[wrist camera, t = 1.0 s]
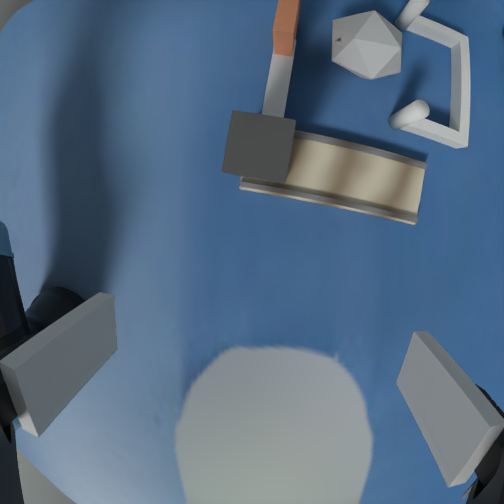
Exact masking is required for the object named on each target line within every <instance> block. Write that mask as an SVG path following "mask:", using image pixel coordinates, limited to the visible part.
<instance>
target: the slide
mask: <svg viewBox="0 0 504 504" xmlns="http://www.w3.org/2000/svg"><path fill="white" fill-rule="evenodd" d="M425 170H427V164H426V163H425V162H422V161H419V160H416V159H412V158H409V157H406V156H402V155H399V154H396V153H392V152H388V151H385V150H381V149H378V148H374V147H370V146H366V145H362V144H358V143H354V142H350V141H346V140H341V139H337V138H332V137H328V136H323V135H318V134H313V133H308V132H303V131H298V130H294V136H293V142H292V148H291V154H290V160H289V166H288V172H287V177H286V182H285V183H278V182H272V181H267V180H261V179H255V178H249V177H243V176H241V181H240V184H239V186H240V188H239V189H243V190H249V191H255V192H260V193H266V194H272V195H277V196H283V197H288V198H294V199H299V200H304V201H309V202H314V203H319V204H324V205H329V206H334V207H339V208H343V209H348V210H353V211H357V212H362V213H366V214H371V215H375V216H379V217H384V218H388V219H392V220H396V221H400V222H404V223H409V224H413V225H415V223H417V222H418V218H416V217H417V212H418V207H419V202H420V196H421V190H422V184H423V178H424V172H425Z"/></svg>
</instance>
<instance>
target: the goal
mask: <svg viewBox="0 0 504 504" xmlns="http://www.w3.org/2000/svg"><path fill="white" fill-rule="evenodd" d="M428 4H429V0H410V1H409V2H408V4H407V5H406V6H405V8H404V9H403V11H402V12H401V13H400V15H399V16H398V18H397V19H396V20H395V25H396V26H397V27H398V28H399V29H401V30H407V31H410V32H413V33H416V34H418V35H421V36H423V37H426V38H428V39H431V40H433V41H436V42H438V43H440V44H443V45H445V46H447V47H449V48H451V106H450V122H449V127H446V126H443V125H441V124H438V123H436V122H433V121H430V120H427V119H425V118H426V117H427V116H428V115H429V112H430V110H429V106H428V105H427V103H426V102H425V101H423V100H416V101H414V102H412V103H411V104H409V105H407V106H406V107H404V108H402V109H401V110H399V111H398V112H396V113H394V114H393V115H391V116H390V117H389V120H388V122H389V125H390V126H391V127H392V128H393V129H395V130H398V129H401V130H405V131H408V132H411V133H414V134H417V135H420V136H423V137H426V138H429V139H432V140H434V141H437V142H440V143H443V144H445V145H448V146H451V147H453V148H456V149H457V148H463V147H468V135H469V119H470V57H469V42H468V37H467V36H465V35H463V34H461V33H459V32H457V31H454V30H452V29H450V28H448V27H446V26H444V25H441V24H439V23H437V22H434V21H432V20H430V19H427V18H425V17H422V16H420V15H419V14H420V13H421V12H422V11H423V10H424V9H425V7H426V6H427V5H428Z"/></svg>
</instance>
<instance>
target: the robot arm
mask: <svg viewBox="0 0 504 504" xmlns="http://www.w3.org/2000/svg"><path fill="white" fill-rule="evenodd" d="M13 258H14V254H13V253H12V250H11V245H10V240H9V234H8V230H7V227H6V226H5V224H4V223H3V222H1V221H0V504H24V500H23V495H22V489H21V483H20V476H19V469H18V461H17V451H16V439H15V431H16V430H17V429H18V428H19V427H20V426H22V428H23V429H24V430H26V431H28V432H30V433H31V434H33V435H35V436H37V437H40V436H41V434H42V433H43V432H44V431H45V430H46V429H47V427H48V426H49V425H50V424H51V423H52V422H53V421H54V419H55V418H56V417H57V416H58V415H59V414H60V413H61V411H62V410H63V409H64V408H65V407H66V406H67V405H68V403H69V402H70V401H71V400H72V399H73V398H74V397H75V396H76V394H77V393H78V392H79V391H80V390H81V389H82V388H83V387H84V386H85V384H86V383H87V382H88V381H89V380H90V379H91V378H92V377H93V376H94V374H95V373H96V372H97V371H98V370H99V369H100V368H101V367H102V366H103V365H104V363H105V362H106V361H107V360H108V359H109V358H110V357H111V356H112V355H113V354H114V353H115V351H116V350H117V349H118V348H117V336H116V323H115V305H114V295H112V294H107V293H102V292H99V293H97V294H96V295H94V296H93V297H91V298H90V299H88V300H87V301H84V300H83V299H82V298H81V297H79V296H78V295H77V294H75V293H74V292H72V291H70V290H68V289H65V288H60V287H55V288H50V289H48V290H46V291H44V292H42V293H40V294H39V295H38V296H37V297H36V298H35V299H34V300H33V302H32V304H31V306H30V307H29V308H28V309H27V311H26V312H25V311H24V307H23V303H22V299H21V295H20V291H19V287H18V282H17V277H16V272H15V266H14V260H13ZM396 384H397V386H398V387H399V389H400V391H401V393H402V395H403V397H404V399H405V401H406V402H407V404H408V406H409V408H410V410H411V412H412V414H413V416H414V418H415V420H416V422H417V424H418V426H419V428H420V430H421V432H422V434H423V436H424V438H425V440H426V442H427V444H428V446H429V448H430V450H431V452H432V454H433V456H434V458H435V460H436V462H437V464H438V467H439V469H440V471H441V473H442V475H443V477H444V480H445V482H446V484H447V486H448V487H451V486H455V485H459V484H462V483H465V482H466V481H467V480H468V478H469V477H470V476H471V475H472V473H473V472H474V471H475V473H476V475H477V479H476V480H475V481H474V482H473V484H472V485H471V486H470V487H469V488H468V490H467V491H466V492H465V493H464V494H463V496H462V498H463V499H464V498H465V497H466V496H467V494H469V493H470V494H469V496H468V499H467V502H466V504H504V413H503V411H502V410H501V409H500V408H499V407H498V406H496V405H497V404H496V403H495V402H494V401H493V400H491V397H490V396H489V395H488V393H487V392H486V391H485V390H484V389H482V388H481V387H479V386H478V385H476V384H474V383H473V381H472V380H471V379H470V378H469V377H468V376H467V374H466V373H465V372H464V371H463V370H462V369H461V368H460V366H459V365H458V364H457V363H456V362H455V361H454V360H453V359H452V357H451V356H450V355H449V354H448V353H447V352H446V351H445V350H444V349H443V348H442V346H441V345H440V344H439V343H438V342H437V341H436V340H435V339H434V338H433V337H432V336H431V335H430V333H429V332H423V331H414V332H413V335H412V338H411V342H410V345H409V348H408V351H407V354H406V357H405V360H404V363H403V366H402V368H401V371H400V374H399V377H398V379H397V382H396Z"/></svg>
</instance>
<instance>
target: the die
mask: <svg viewBox="0 0 504 504" xmlns="http://www.w3.org/2000/svg"><path fill="white" fill-rule="evenodd" d="M401 53H402V32H400V31H399V30H398V29H397V28H396V27H395V26H393V25H392V24H391V23H390V22H389V21H387V20H386V19H385V18H384V17H383V16H381V15H380V14H379V13H378V12H376V11H375V10H374V11H369V12H364V13H360V14H355V15H351V16H347V17H343V18H339V19H336V20H333V36H332V61H333V62H335V63H336V64H338V65H340V66H342V67H344V68H345V69H347V70H349V71H350V72H352V73H354V74H355V75H357V76H359V77H360V78H365V79H375V78H379V77H383V76H387V75H391V74H395V73H400V70H401Z"/></svg>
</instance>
